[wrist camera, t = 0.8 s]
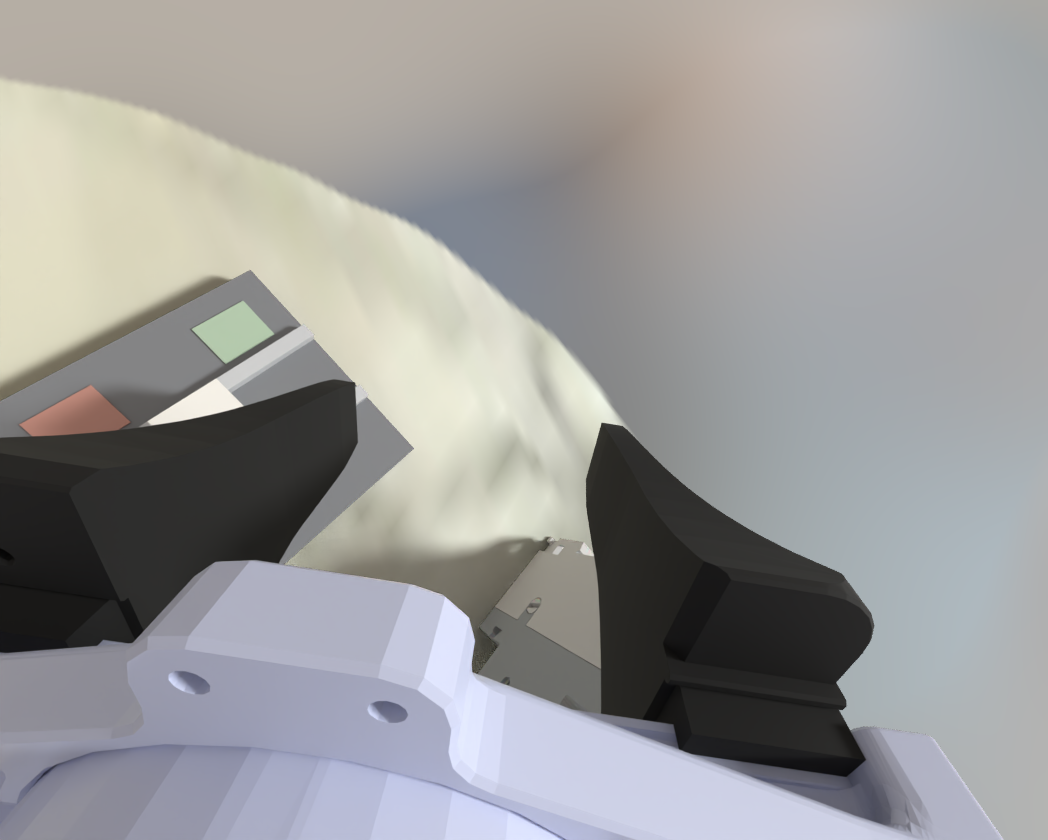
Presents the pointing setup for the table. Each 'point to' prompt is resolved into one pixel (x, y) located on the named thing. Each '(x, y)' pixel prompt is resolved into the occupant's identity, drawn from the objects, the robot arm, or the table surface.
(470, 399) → the table surface
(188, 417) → the handle
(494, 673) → the circuit breaker
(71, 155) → the table surface
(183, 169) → the table surface
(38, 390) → the panel
